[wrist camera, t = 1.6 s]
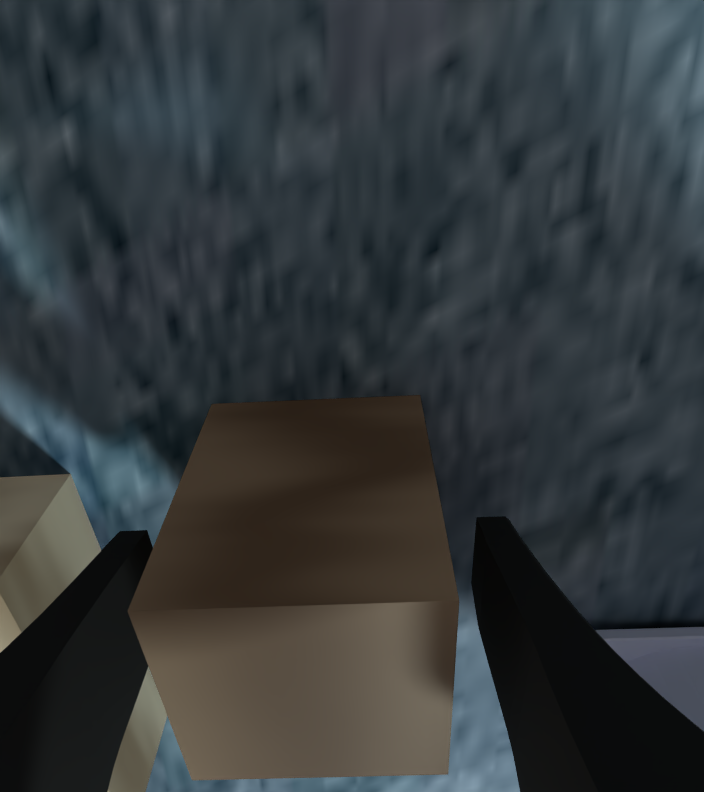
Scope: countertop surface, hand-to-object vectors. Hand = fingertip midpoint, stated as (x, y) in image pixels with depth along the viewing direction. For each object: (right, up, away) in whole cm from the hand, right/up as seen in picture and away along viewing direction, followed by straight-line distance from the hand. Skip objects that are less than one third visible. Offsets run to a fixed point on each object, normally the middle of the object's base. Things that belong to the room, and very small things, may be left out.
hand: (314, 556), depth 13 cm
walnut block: (0, +1, +2) cm, 3 cm away
